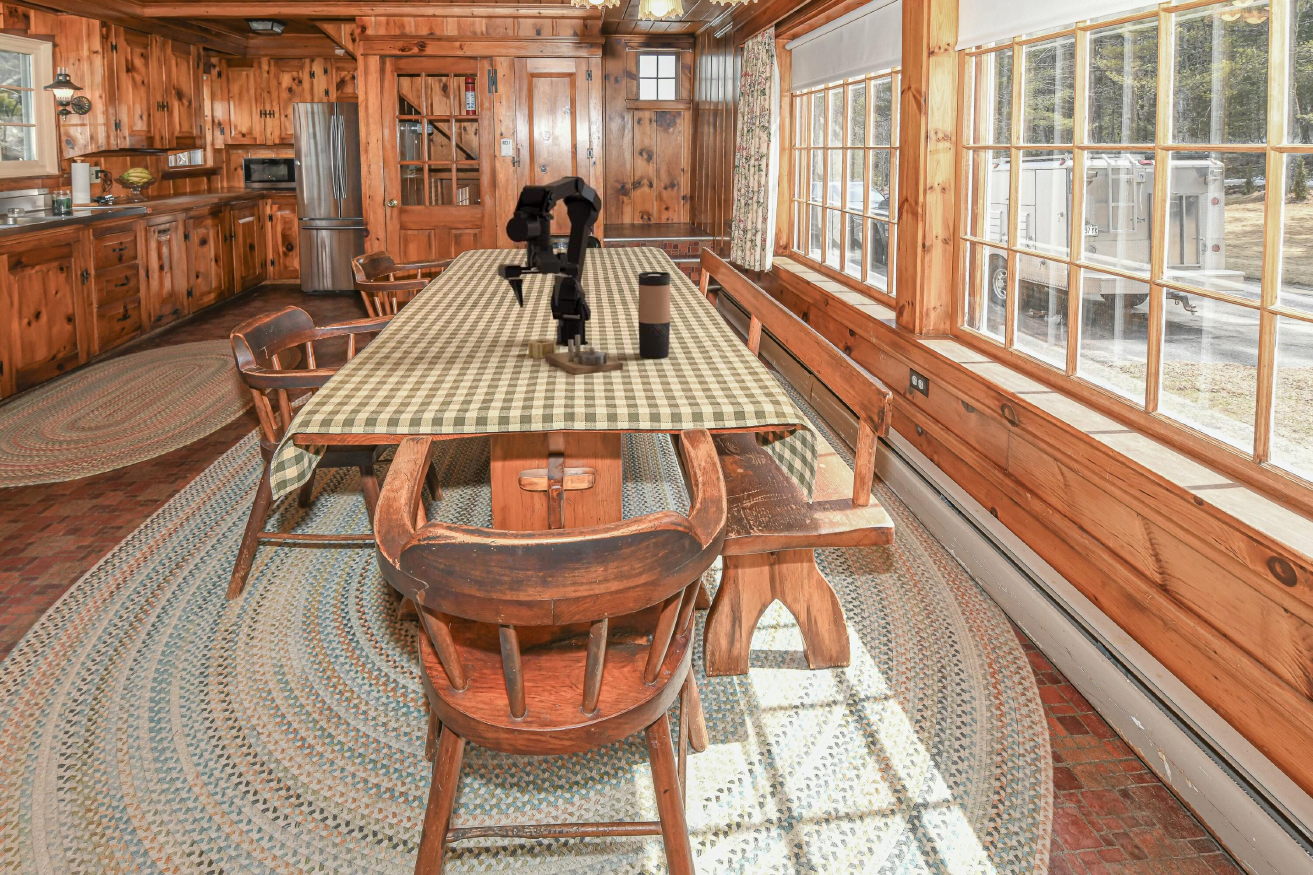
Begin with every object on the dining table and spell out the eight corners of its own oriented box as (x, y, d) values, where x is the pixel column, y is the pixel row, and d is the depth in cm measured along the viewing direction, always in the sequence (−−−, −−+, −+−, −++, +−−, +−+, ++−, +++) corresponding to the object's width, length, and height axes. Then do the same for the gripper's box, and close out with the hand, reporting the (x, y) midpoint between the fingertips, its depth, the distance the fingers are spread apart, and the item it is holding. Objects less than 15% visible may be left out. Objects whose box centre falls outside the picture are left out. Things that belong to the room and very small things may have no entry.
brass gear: (549, 352, 238) (549, 338, 237) (560, 357, 233) (560, 342, 232) (524, 354, 235) (523, 340, 234) (534, 359, 229) (534, 345, 228)
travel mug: (669, 352, 238) (669, 271, 232) (670, 359, 231) (671, 275, 225) (638, 352, 238) (638, 271, 232) (638, 359, 230) (638, 275, 225)
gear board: (590, 355, 234) (590, 329, 232) (622, 369, 220) (622, 341, 218) (545, 360, 228) (544, 333, 227) (575, 375, 214) (574, 346, 212)
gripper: (512, 243, 215) (514, 312, 219) (588, 241, 224) (588, 308, 228) (496, 240, 224) (498, 306, 229) (569, 238, 233) (570, 303, 237)
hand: (539, 306), depth 230 cm, fingers open, 9 cm apart
